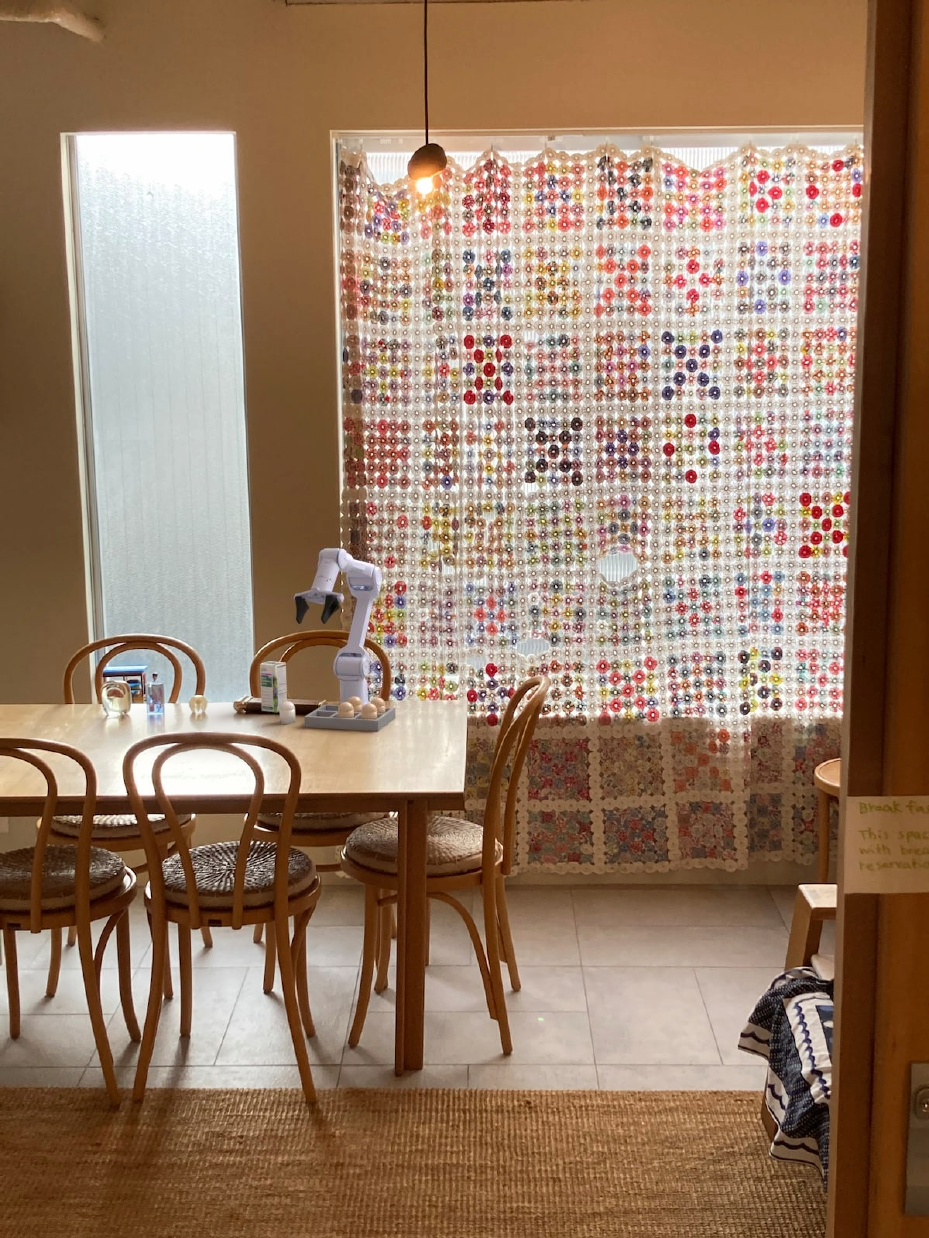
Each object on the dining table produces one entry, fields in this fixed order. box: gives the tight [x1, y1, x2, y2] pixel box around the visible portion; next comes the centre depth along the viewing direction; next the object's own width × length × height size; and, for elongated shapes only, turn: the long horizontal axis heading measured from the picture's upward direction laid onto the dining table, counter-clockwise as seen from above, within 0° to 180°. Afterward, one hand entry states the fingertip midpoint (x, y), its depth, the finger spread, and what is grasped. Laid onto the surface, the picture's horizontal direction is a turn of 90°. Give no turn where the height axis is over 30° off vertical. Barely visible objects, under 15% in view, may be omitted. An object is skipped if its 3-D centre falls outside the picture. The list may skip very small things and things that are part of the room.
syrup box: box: [259, 660, 288, 713], centre depth 347 cm, size 6×6×14 cm
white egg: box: [279, 700, 296, 725], centre depth 332 cm, size 4×4×6 cm
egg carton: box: [304, 696, 396, 732], centre depth 331 cm, size 15×22×7 cm
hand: (310, 621), depth 318 cm, fingers open, 7 cm apart
